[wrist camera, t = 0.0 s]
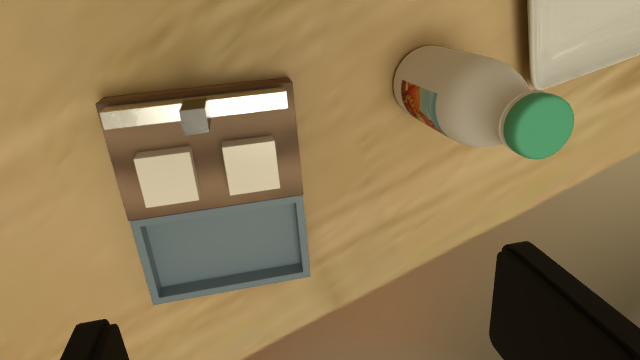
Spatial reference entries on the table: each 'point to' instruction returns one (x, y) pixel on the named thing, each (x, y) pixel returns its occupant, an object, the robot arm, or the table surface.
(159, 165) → the white tile
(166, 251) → the box
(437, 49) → the milk bottle
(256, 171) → the white tile
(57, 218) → the table surface
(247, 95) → the bar
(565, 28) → the square plate
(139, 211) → the walnut board
